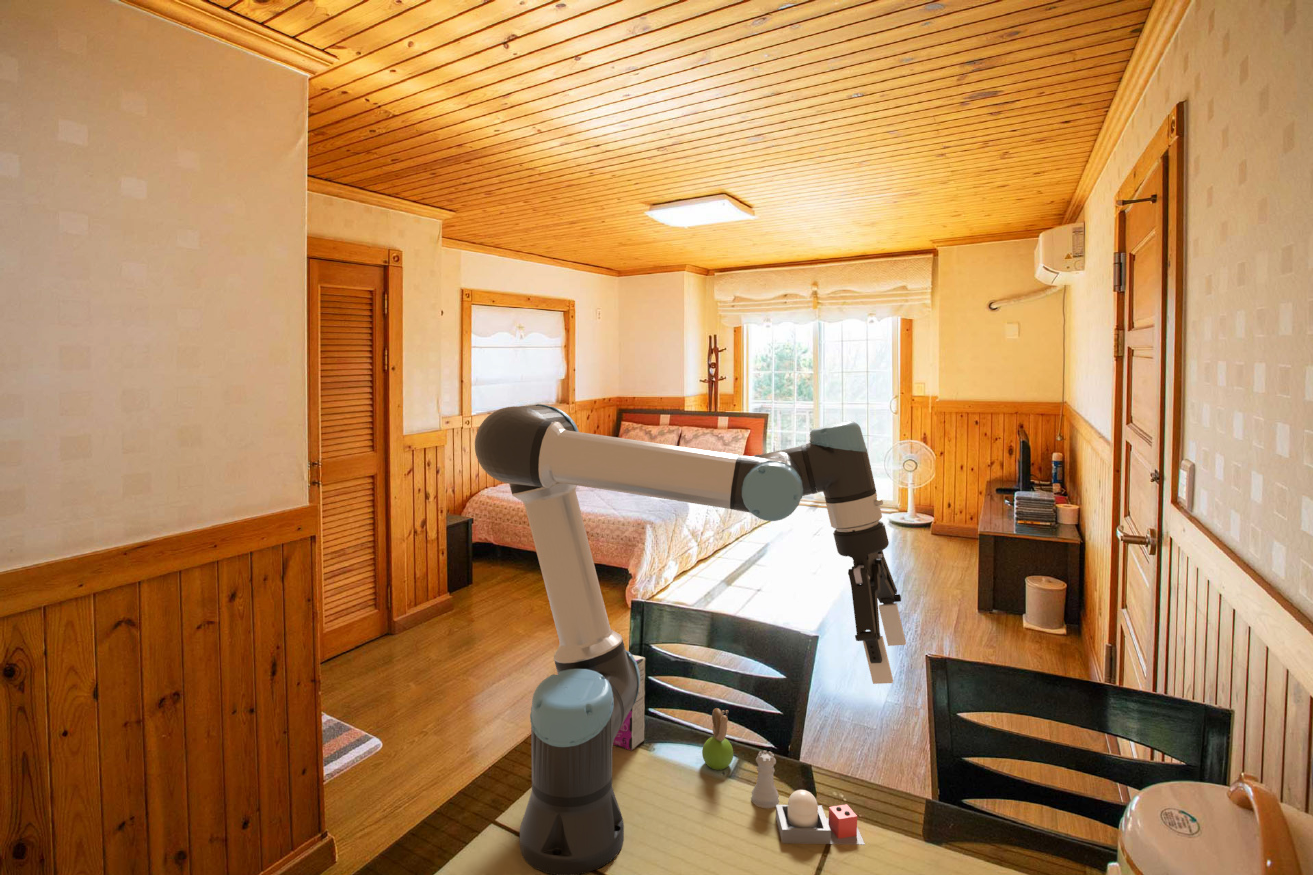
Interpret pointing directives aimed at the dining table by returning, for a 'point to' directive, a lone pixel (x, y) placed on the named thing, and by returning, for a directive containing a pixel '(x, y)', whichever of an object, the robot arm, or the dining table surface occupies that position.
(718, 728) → the snail figurine
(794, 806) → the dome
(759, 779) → the rook chess piece
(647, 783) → the dining table surface
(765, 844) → the dining table surface
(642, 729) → the candy bar box
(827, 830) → the grey compartment tray
